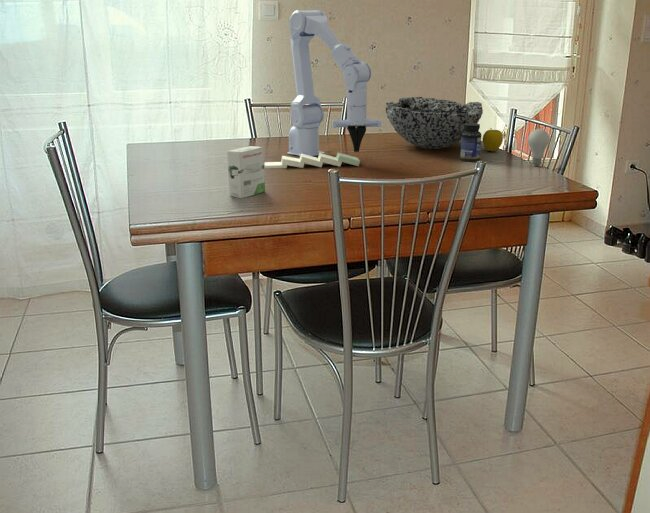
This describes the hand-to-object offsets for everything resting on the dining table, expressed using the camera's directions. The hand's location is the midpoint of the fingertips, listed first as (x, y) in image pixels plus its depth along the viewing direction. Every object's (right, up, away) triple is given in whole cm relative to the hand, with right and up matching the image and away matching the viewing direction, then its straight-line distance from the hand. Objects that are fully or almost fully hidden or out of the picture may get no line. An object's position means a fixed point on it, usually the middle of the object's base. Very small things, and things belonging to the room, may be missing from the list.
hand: (356, 151), depth 218 cm
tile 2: (-16, -4, 0) cm, 16 cm away
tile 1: (-21, -4, 0) cm, 21 cm away
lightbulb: (+53, -5, -3) cm, 54 cm away
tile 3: (-11, -4, 0) cm, 11 cm away
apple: (+45, +2, +19) cm, 49 cm away
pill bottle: (+35, -2, +7) cm, 36 cm away
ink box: (-29, -16, -32) cm, 46 cm away
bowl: (+27, +5, +26) cm, 38 cm away
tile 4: (-5, -3, +1) cm, 6 cm away
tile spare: (+1, -3, +1) cm, 3 cm away
